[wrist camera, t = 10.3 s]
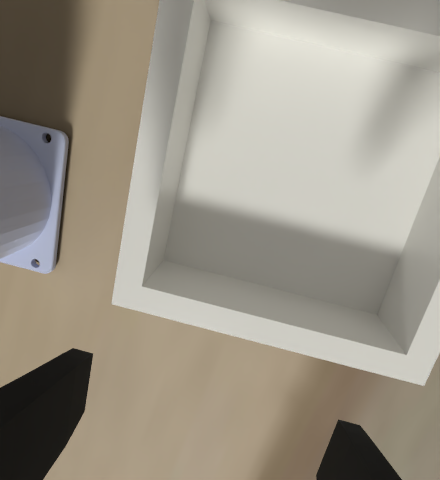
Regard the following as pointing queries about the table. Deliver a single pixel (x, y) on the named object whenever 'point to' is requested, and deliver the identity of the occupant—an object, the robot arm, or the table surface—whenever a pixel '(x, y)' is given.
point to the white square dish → (292, 178)
